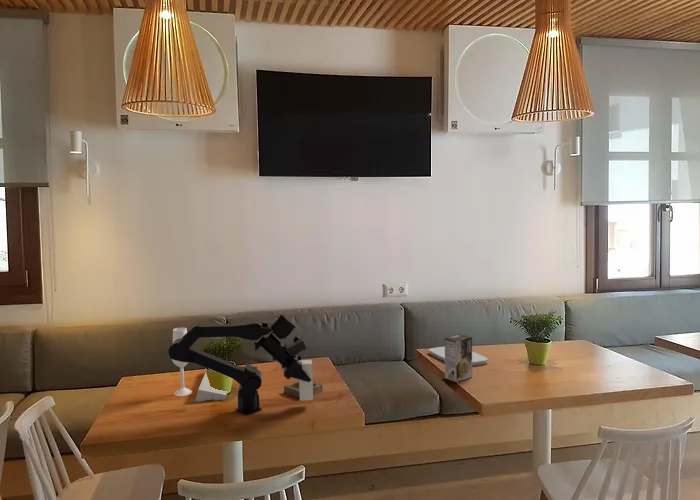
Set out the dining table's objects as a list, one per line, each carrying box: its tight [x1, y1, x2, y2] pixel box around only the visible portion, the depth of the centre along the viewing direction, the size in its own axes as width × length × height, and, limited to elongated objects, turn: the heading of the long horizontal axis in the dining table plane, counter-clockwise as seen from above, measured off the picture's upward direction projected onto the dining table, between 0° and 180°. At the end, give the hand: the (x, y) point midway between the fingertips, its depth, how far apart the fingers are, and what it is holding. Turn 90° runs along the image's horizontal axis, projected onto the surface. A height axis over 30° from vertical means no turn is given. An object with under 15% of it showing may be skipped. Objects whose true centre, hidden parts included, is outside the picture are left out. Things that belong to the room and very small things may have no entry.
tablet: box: [428, 345, 489, 367], centre depth 246 cm, size 16×26×2 cm, turn 21°
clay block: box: [298, 359, 314, 402], centre depth 192 cm, size 4×4×12 cm
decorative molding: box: [195, 372, 228, 402], centre depth 217 cm, size 34×5×10 cm
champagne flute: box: [171, 327, 193, 397], centre depth 208 cm, size 7×7×24 cm
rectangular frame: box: [283, 380, 323, 399], centre depth 207 cm, size 10×10×2 cm
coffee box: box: [444, 333, 473, 383], centre depth 219 cm, size 9×6×16 cm
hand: (309, 378), depth 192 cm, fingers closed on clay block, 4 cm apart
